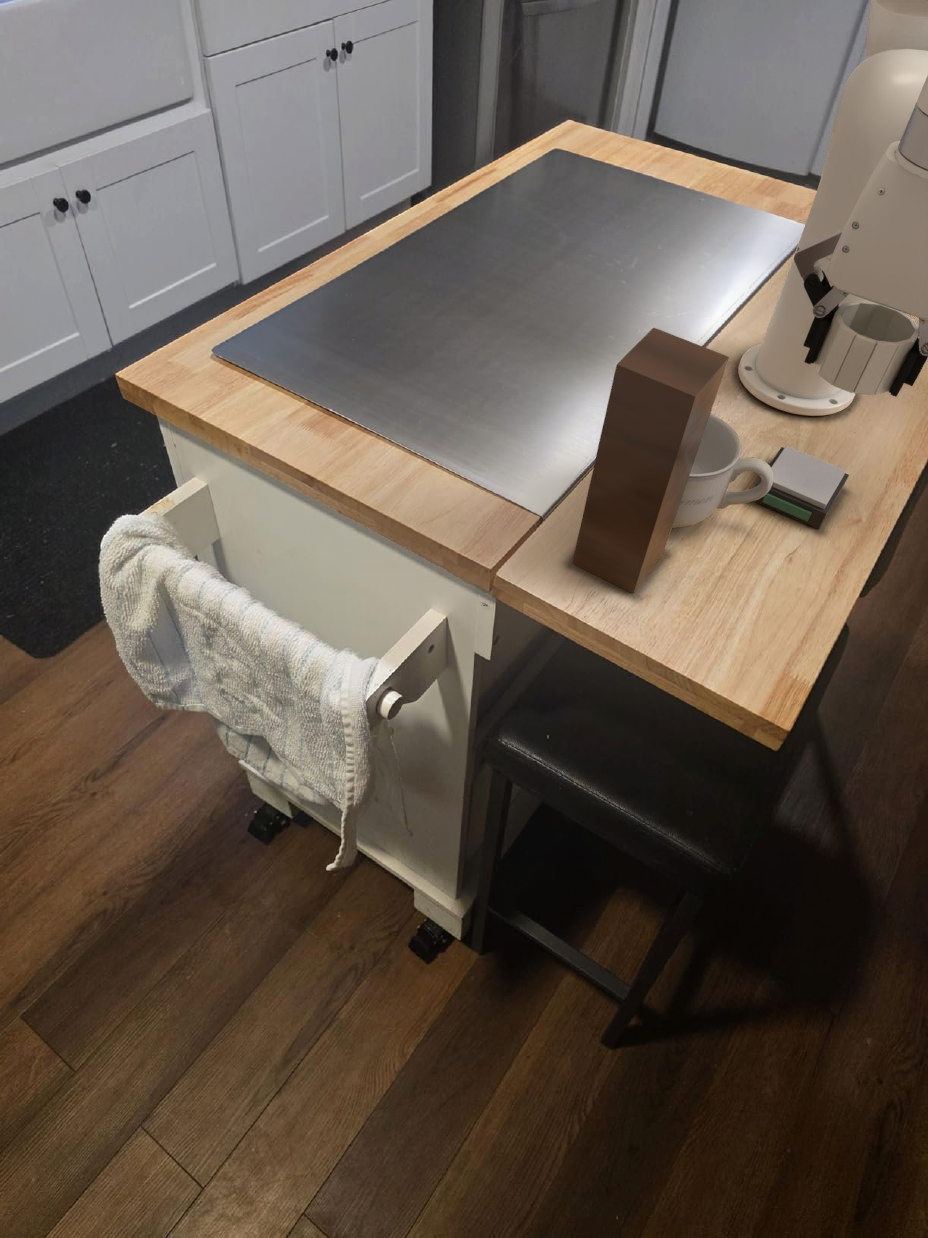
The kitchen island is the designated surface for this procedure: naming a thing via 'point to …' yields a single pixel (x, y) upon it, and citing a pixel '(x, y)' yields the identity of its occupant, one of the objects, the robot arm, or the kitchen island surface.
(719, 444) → the teacup
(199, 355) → the kitchen island surface
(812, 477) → the scale
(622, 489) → the block
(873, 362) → the white faceted cup
